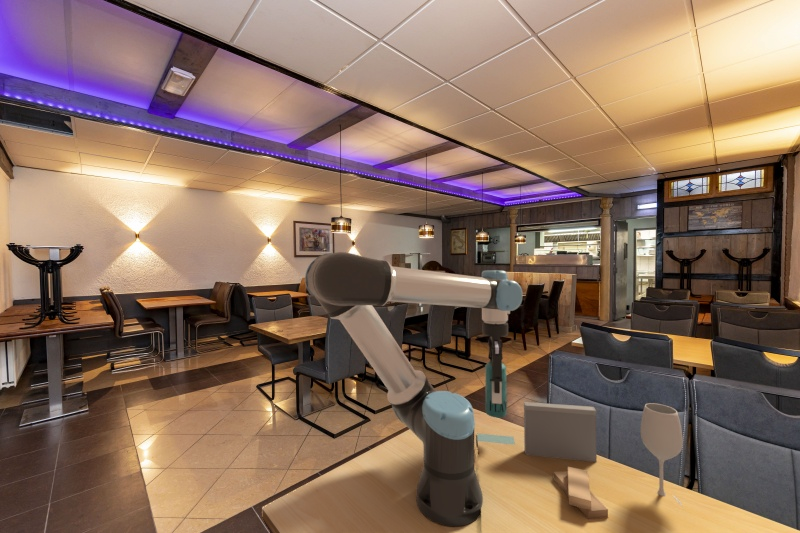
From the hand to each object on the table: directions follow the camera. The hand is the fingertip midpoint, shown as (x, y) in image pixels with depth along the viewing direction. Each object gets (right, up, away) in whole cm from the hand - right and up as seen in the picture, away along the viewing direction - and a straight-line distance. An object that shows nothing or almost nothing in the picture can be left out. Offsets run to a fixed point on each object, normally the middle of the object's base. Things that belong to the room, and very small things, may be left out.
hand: (495, 398), depth 99 cm
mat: (0, -14, 0) cm, 14 cm away
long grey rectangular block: (+15, -14, -8) cm, 22 cm away
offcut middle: (+12, -13, -24) cm, 30 cm away
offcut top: (+12, -11, -24) cm, 29 cm away
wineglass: (+32, -14, -23) cm, 42 cm away
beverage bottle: (0, -6, 0) cm, 6 cm away
